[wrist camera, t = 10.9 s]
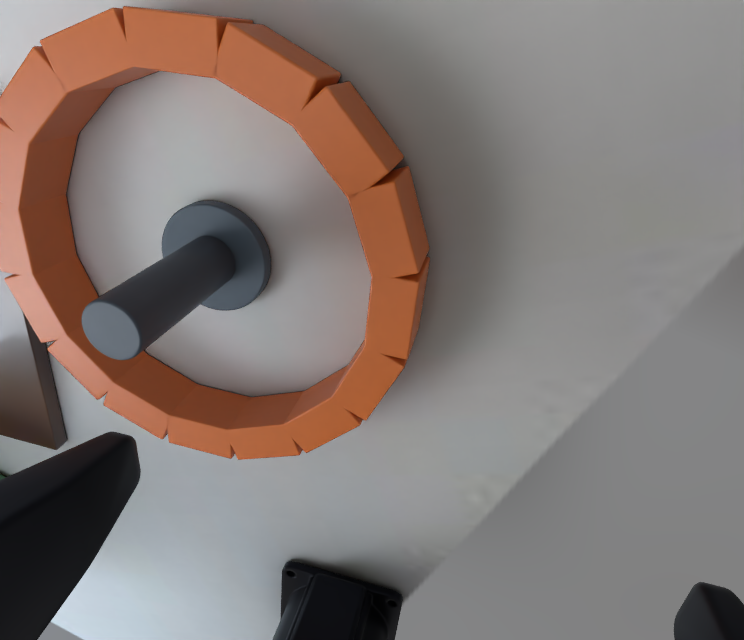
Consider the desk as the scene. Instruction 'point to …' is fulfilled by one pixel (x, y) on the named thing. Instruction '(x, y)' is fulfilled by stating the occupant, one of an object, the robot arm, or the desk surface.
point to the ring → (280, 97)
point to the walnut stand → (26, 379)
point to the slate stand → (182, 279)
